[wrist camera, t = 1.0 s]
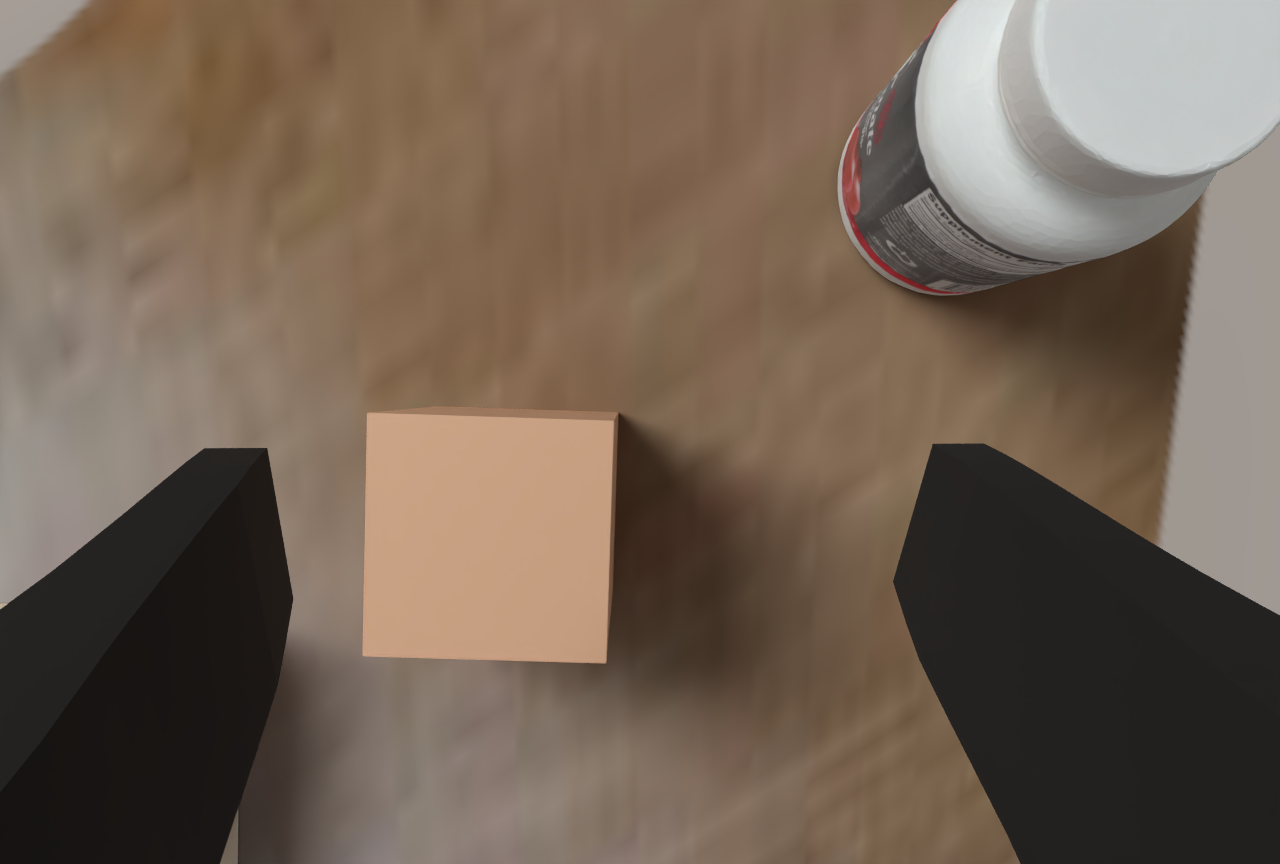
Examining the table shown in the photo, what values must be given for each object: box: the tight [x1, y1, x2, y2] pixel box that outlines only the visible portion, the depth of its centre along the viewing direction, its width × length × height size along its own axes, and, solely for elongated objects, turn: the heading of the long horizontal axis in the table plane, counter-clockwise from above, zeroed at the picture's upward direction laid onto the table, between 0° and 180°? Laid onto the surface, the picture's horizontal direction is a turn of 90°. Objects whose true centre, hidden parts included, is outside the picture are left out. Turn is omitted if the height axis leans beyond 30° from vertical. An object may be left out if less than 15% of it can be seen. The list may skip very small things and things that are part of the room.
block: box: [363, 406, 618, 663], centre depth 20 cm, size 4×4×6 cm
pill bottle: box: [838, 0, 1280, 296], centre depth 18 cm, size 5×5×10 cm
